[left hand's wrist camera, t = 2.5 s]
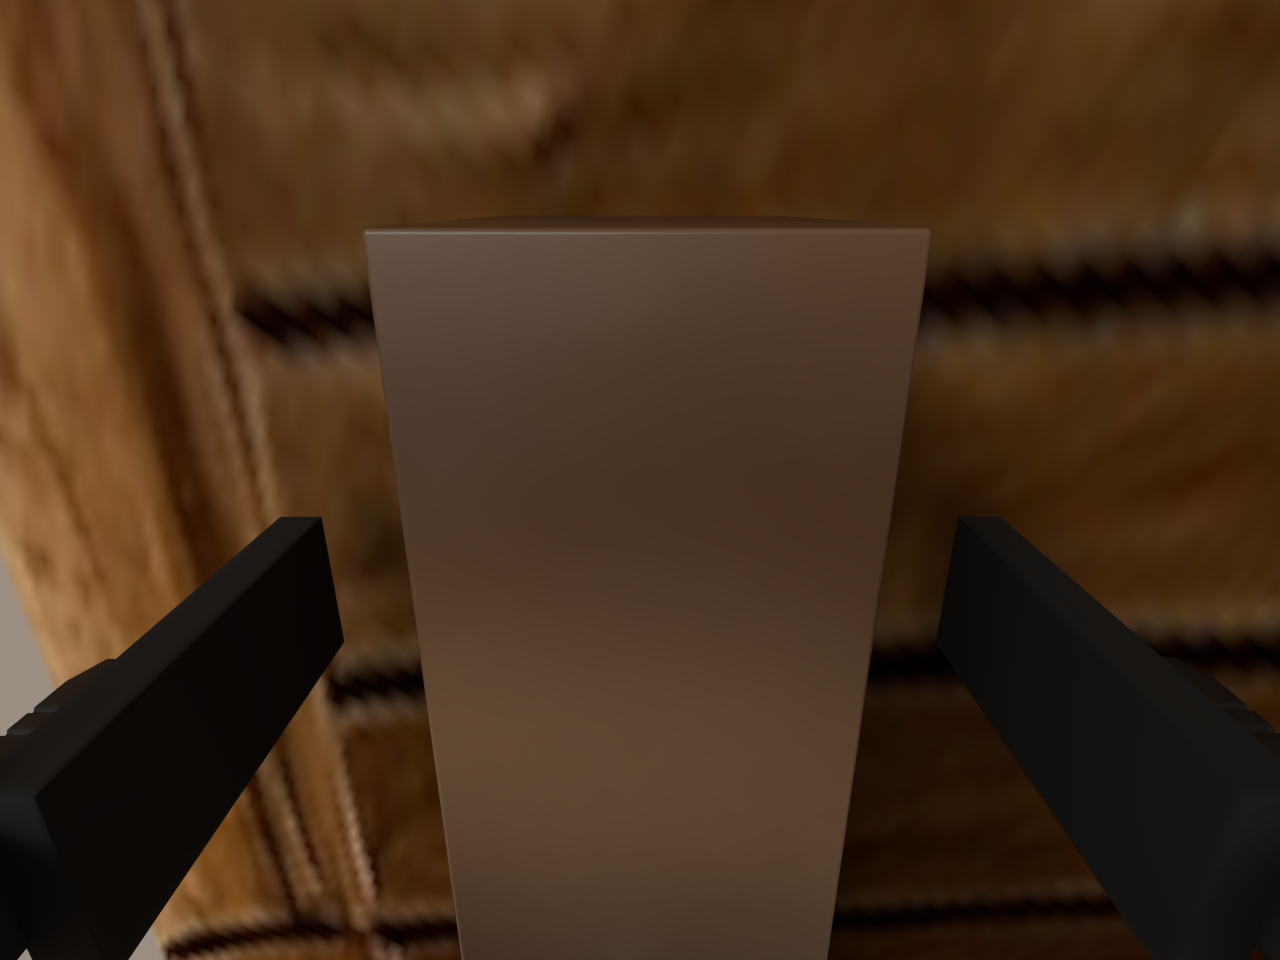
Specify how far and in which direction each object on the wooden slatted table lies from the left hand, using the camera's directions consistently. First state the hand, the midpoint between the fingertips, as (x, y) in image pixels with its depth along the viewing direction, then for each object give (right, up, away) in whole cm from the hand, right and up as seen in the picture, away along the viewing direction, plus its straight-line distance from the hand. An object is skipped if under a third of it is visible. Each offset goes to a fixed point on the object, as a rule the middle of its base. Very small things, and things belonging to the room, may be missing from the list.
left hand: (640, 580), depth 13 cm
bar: (0, -22, +11) cm, 24 cm away
